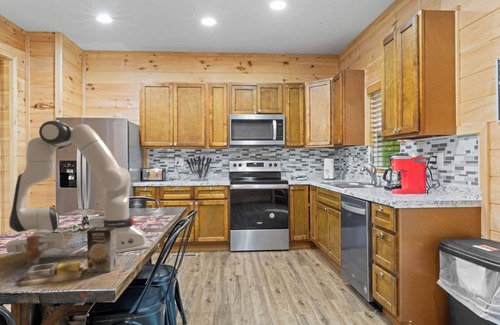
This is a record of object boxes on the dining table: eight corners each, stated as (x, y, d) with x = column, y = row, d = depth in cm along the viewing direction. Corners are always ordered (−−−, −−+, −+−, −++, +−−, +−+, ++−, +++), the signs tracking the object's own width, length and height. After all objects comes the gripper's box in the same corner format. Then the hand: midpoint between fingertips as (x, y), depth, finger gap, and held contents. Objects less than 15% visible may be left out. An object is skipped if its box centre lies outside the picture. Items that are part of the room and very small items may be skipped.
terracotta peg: (40, 264, 131) (39, 235, 131) (38, 268, 127) (37, 238, 127) (28, 266, 130) (28, 236, 129) (26, 269, 126) (25, 239, 126)
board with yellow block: (84, 266, 129) (84, 257, 129) (80, 278, 116) (79, 268, 116) (31, 272, 122) (31, 263, 122) (20, 286, 109) (20, 275, 109)
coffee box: (86, 272, 122) (85, 230, 121) (94, 266, 128) (93, 226, 128) (111, 271, 122) (110, 230, 122) (117, 266, 128) (116, 226, 128)
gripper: (12, 236, 136) (0, 244, 124) (66, 231, 144) (61, 238, 131) (12, 250, 137) (0, 260, 124) (66, 245, 144) (61, 253, 131)
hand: (32, 249), depth 127 cm, fingers closed on terracotta peg, 4 cm apart
